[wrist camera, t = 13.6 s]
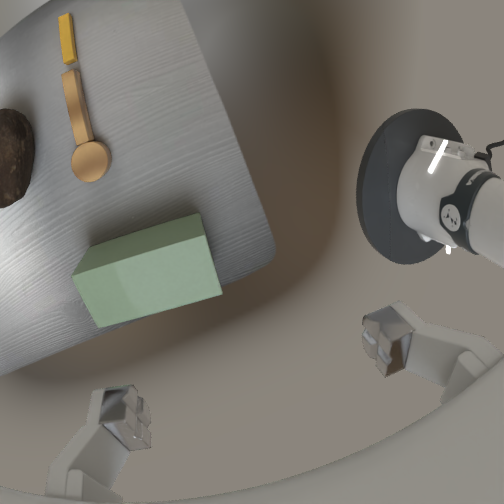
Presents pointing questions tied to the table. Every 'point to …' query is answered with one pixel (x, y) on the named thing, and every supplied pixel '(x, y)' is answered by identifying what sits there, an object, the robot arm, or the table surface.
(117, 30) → the table surface
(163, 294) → the sage green box
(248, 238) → the table surface
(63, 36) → the fry
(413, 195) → the robot arm
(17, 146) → the dark brown bone
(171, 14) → the table surface
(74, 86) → the spoon
